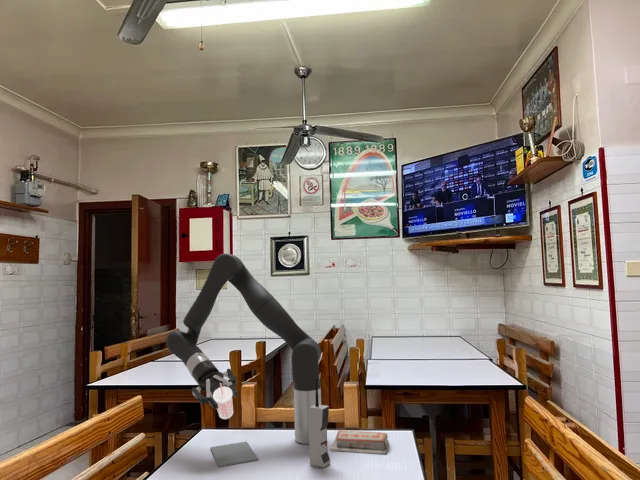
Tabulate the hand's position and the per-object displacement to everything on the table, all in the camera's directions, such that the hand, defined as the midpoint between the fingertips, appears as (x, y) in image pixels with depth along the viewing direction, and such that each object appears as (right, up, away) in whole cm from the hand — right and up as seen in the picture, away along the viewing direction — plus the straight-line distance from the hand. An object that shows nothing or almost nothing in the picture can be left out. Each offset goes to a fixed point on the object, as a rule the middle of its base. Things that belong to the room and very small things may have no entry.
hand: (226, 401), depth 139 cm
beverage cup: (-1, -6, +6) cm, 9 cm away
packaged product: (+42, -18, +7) cm, 46 cm away
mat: (+1, -18, +3) cm, 18 cm away
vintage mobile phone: (+29, -17, -6) cm, 34 cm away
